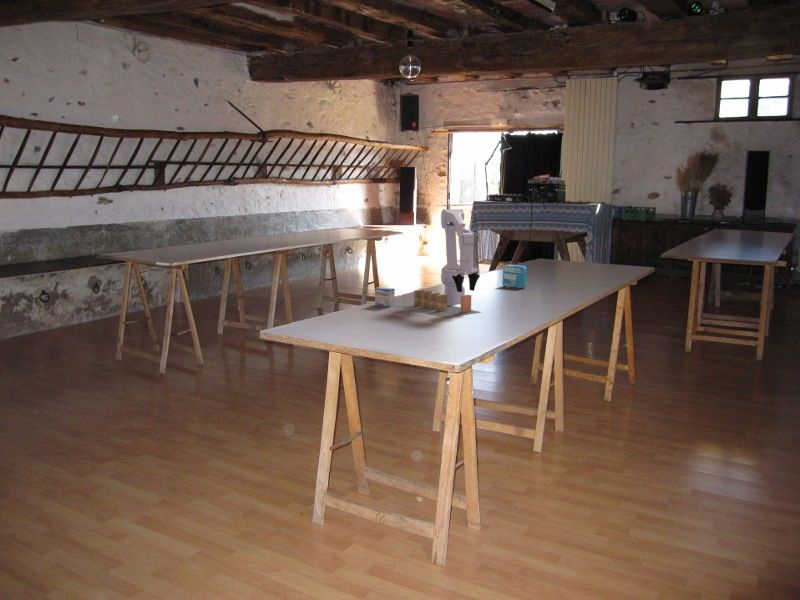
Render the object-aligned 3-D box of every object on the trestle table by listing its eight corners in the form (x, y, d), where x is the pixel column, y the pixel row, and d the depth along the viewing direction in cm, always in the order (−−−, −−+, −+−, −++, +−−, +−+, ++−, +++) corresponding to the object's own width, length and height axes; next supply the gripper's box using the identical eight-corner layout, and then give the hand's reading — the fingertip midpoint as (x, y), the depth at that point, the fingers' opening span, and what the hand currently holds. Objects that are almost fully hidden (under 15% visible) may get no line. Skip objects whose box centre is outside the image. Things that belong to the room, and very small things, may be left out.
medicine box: (374, 306, 312) (374, 288, 310) (379, 305, 316) (379, 286, 314) (389, 308, 308) (390, 289, 307) (394, 306, 312) (394, 288, 310)
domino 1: (413, 305, 312) (414, 290, 311) (422, 304, 315) (422, 289, 314) (416, 306, 311) (416, 290, 310) (424, 305, 314) (424, 289, 313)
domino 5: (460, 312, 299) (460, 295, 298) (468, 310, 302) (469, 294, 301) (462, 312, 298) (463, 296, 297) (470, 311, 301) (471, 295, 300)
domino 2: (421, 307, 308) (421, 291, 307) (429, 306, 312) (429, 290, 310) (423, 308, 307) (423, 292, 306) (431, 306, 310) (431, 291, 309)
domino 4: (436, 311, 301) (436, 295, 300) (444, 309, 304) (444, 293, 303) (438, 311, 300) (439, 295, 298) (446, 310, 303) (447, 294, 302)
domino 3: (428, 309, 305) (429, 293, 303) (436, 308, 308) (437, 292, 307) (430, 309, 304) (431, 293, 302) (439, 308, 307) (439, 292, 305)
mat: (432, 302, 324) (432, 301, 324) (481, 313, 300) (481, 312, 300) (396, 307, 310) (396, 306, 310) (445, 319, 286) (445, 318, 286)
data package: (502, 286, 373) (503, 265, 371) (505, 285, 377) (506, 264, 375) (523, 289, 367) (524, 266, 365) (526, 287, 370) (527, 266, 368)
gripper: (460, 261, 289) (460, 293, 291) (484, 260, 298) (483, 290, 300) (449, 260, 294) (448, 291, 296) (473, 258, 303) (472, 288, 305)
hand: (465, 291), depth 299 cm, fingers open, 7 cm apart
